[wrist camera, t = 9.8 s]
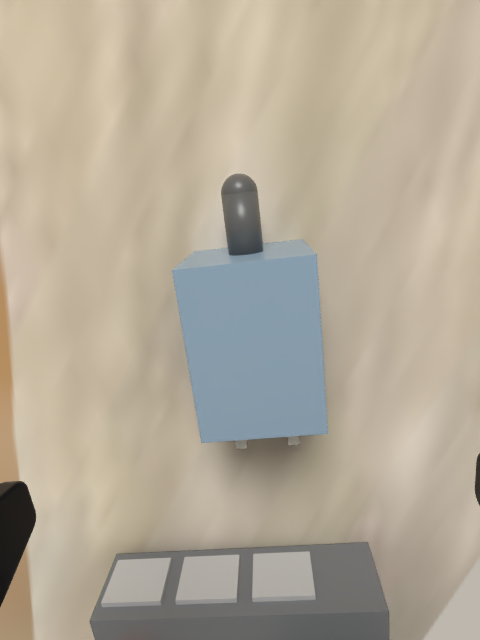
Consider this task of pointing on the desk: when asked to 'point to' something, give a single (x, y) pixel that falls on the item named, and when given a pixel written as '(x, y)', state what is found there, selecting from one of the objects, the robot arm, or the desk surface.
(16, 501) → the robot arm
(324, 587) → the power strip
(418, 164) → the desk surface
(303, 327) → the slate plug
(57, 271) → the desk surface
